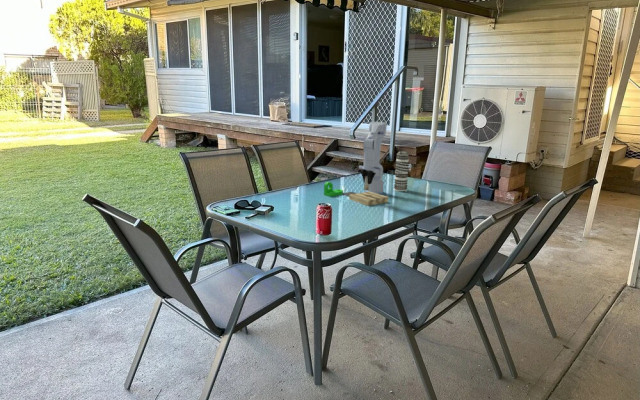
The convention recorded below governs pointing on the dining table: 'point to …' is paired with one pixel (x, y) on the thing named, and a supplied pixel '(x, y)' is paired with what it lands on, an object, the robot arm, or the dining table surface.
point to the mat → (348, 193)
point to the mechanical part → (331, 190)
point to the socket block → (368, 198)
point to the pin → (366, 183)
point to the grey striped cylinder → (401, 171)
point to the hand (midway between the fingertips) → (367, 183)
